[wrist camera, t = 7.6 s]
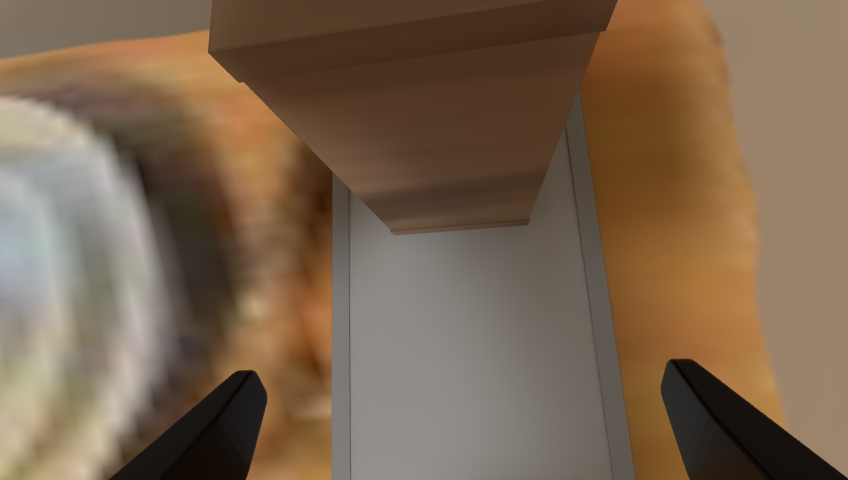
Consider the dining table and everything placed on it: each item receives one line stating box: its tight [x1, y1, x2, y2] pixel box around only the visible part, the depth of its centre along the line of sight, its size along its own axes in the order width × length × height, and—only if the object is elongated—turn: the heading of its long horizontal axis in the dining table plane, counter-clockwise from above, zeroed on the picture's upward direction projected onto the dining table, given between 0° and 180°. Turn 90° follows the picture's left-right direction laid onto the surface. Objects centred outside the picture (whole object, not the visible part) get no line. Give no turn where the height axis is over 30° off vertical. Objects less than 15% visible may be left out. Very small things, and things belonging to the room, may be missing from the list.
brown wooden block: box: [208, 0, 618, 236], centre depth 13 cm, size 6×6×13 cm
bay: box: [332, 89, 636, 480], centre depth 17 cm, size 19×12×4 cm, turn 3°
